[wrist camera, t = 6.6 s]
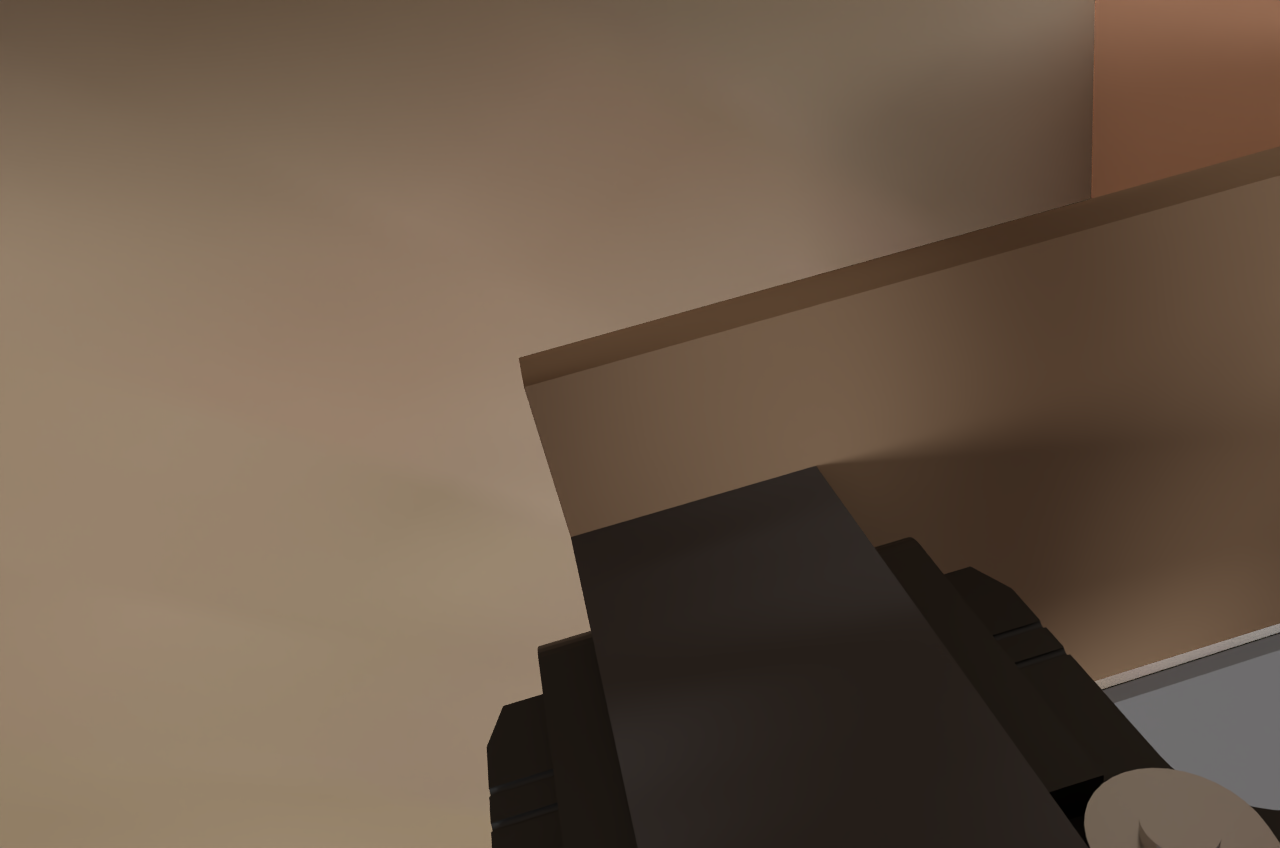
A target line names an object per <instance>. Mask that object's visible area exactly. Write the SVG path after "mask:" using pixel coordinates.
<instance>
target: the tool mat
mask: <svg viewBox="0 0 1280 848" xmlns="http://www.w3.org/2000/svg"><path fill="white" fill-rule="evenodd" d="M1102 691H1103V692H1104V693H1105V694H1106V695H1107V696H1108V697H1109V698H1110V700H1111V701H1112V702H1113V703H1114V704H1115V705H1116V706H1117V707H1118V709H1119V710H1120V711H1121V712H1122V713H1123V714H1124V715H1125V717H1126V718H1127V719H1128V720H1129V721H1130V722H1131V723H1132V724H1133V726H1134V727H1135V728H1136V729H1137V730H1138V731H1139V732H1140V733H1141V735H1142V736H1143V737H1144V738H1145V739H1146V740H1147V741H1148V742H1149V744H1150V745H1151V746H1152V747H1153V748H1154V749H1155V750H1156V751H1157V753H1158V754H1159V755H1160V756H1161V757H1162V758H1163V759H1164V760H1165V761H1166V762H1167V763H1168V764H1169V765H1170V766H1171V767H1172V768H1173V769H1175V770H1179V771H1184V772H1188V773H1191V774H1195V775H1198V776H1201V777H1204V778H1206V779H1208V780H1211V781H1213V782H1216V783H1217V784H1219V785H1221V786H1223V787H1225V788H1226V789H1228V790H1230V791H1232V792H1233V793H1234V794H1236V795H1237V796H1239V797H1240V798H1241V799H1243V800H1244V801H1245V802H1246V803H1247V804H1249V805H1250V806H1253V807H1258V808H1265V809H1271V810H1280V634H1277V635H1274V636H1270V637H1267V638H1264V639H1261V640H1258V641H1255V642H1252V643H1249V644H1245V645H1242V646H1239V647H1236V648H1233V649H1230V650H1227V651H1224V652H1220V653H1217V654H1214V655H1211V656H1208V657H1205V658H1202V659H1199V660H1195V661H1192V662H1189V663H1186V664H1183V665H1180V666H1177V667H1174V668H1170V669H1167V670H1164V671H1161V672H1158V673H1155V674H1152V675H1149V676H1145V677H1142V678H1139V679H1136V680H1133V681H1130V682H1127V683H1124V684H1121V685H1117V686H1114V687H1111V688H1108V689H1105V690H1102Z"/></svg>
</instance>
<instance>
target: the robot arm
mask: <svg viewBox="0 0 1280 848" xmlns="http://www.w3.org/2000/svg"><path fill="white" fill-rule="evenodd" d="M874 548H875V549H876V551H877V552H878V553H879V555H880V556H881V558H882V559H883V560H884V562H885V563H886V565H887V566H888V567H889V569H890V570H891V572H892V573H893V574H894V576H895V577H896V579H897V580H898V581H899V583H900V584H901V586H902V587H903V588H904V590H905V591H906V593H907V594H908V595H909V597H910V598H911V600H912V601H913V602H914V604H915V605H916V607H917V608H918V609H919V611H920V612H921V614H922V615H923V616H924V618H925V619H926V621H927V622H928V623H929V625H930V626H931V628H932V629H933V630H934V632H935V633H936V635H937V636H938V637H939V639H940V640H941V642H942V643H943V644H944V646H945V647H946V649H947V650H948V651H949V653H950V654H951V656H952V657H953V658H954V660H955V661H956V663H957V664H958V665H959V667H960V668H961V670H962V671H963V672H964V674H965V675H966V677H967V678H968V679H969V681H970V682H971V684H972V685H973V686H974V688H975V689H976V691H977V692H978V693H979V695H980V696H981V698H982V699H983V700H984V702H985V703H986V705H987V706H988V707H989V709H990V710H991V712H992V713H993V714H994V716H995V717H996V719H997V720H998V722H999V723H1000V724H1001V726H1002V727H1003V729H1004V730H1005V731H1006V733H1007V734H1008V736H1009V737H1010V738H1011V740H1012V741H1013V743H1014V744H1015V745H1016V747H1017V748H1018V750H1019V751H1020V752H1021V754H1022V755H1023V757H1024V758H1025V759H1026V761H1027V762H1028V764H1029V765H1030V766H1031V768H1032V769H1033V771H1034V772H1035V773H1036V775H1037V776H1038V778H1039V779H1040V780H1041V782H1042V783H1043V785H1044V786H1045V787H1046V789H1047V790H1048V792H1049V793H1050V794H1051V796H1052V797H1053V799H1054V800H1055V801H1056V803H1057V804H1058V806H1059V807H1060V808H1061V810H1062V811H1063V813H1064V814H1065V815H1066V817H1067V818H1068V820H1069V821H1070V822H1071V824H1072V825H1073V827H1074V828H1075V829H1076V831H1077V832H1078V834H1079V835H1080V836H1081V838H1082V839H1083V841H1084V842H1085V843H1086V845H1087V846H1088V848H1280V810H1271V809H1265V808H1258V807H1253V806H1250V805H1249V804H1247V803H1246V802H1245V801H1244V800H1243V799H1241V798H1240V797H1239V796H1237V795H1236V794H1234V793H1233V792H1232V791H1230V790H1228V789H1226V788H1225V787H1223V786H1221V785H1219V784H1217V783H1216V782H1213V781H1211V780H1208V779H1206V778H1204V777H1201V776H1198V775H1195V774H1191V773H1188V772H1184V771H1179V770H1175V769H1173V768H1172V767H1171V766H1170V765H1169V764H1168V763H1167V762H1166V761H1165V760H1164V759H1163V758H1162V757H1161V756H1160V755H1159V754H1158V753H1157V751H1156V750H1155V749H1154V748H1153V747H1152V746H1151V745H1150V744H1149V742H1148V741H1147V740H1146V739H1145V738H1144V737H1143V736H1142V735H1141V733H1140V732H1139V731H1138V730H1137V729H1136V728H1135V727H1134V726H1133V724H1132V723H1131V722H1130V721H1129V720H1128V719H1127V718H1126V717H1125V715H1124V714H1123V713H1122V712H1121V711H1120V710H1119V709H1118V707H1117V706H1116V705H1115V704H1114V703H1113V702H1112V701H1111V700H1110V698H1109V697H1108V696H1107V695H1106V694H1105V693H1104V692H1103V691H1102V689H1101V688H1100V687H1099V686H1098V685H1097V684H1096V683H1095V682H1094V680H1093V679H1092V678H1091V677H1090V676H1089V675H1088V674H1087V673H1086V671H1085V670H1084V669H1083V668H1082V667H1081V666H1080V665H1079V663H1078V662H1077V661H1076V660H1075V659H1074V658H1073V657H1072V656H1071V654H1069V655H1067V654H1066V652H1065V649H1064V647H1063V645H1062V644H1061V643H1060V642H1059V641H1058V640H1057V639H1056V638H1055V636H1054V635H1053V634H1052V633H1051V632H1050V631H1049V630H1048V629H1047V627H1044V628H1043V626H1042V625H1041V621H1040V619H1039V618H1038V617H1037V616H1036V615H1035V614H1034V613H1033V612H1032V610H1031V609H1030V608H1029V607H1028V606H1027V605H1026V604H1025V603H1024V601H1023V600H1022V599H1021V598H1020V597H1019V596H1018V595H1017V594H1016V592H1015V591H1014V590H1013V589H1012V588H1010V587H1008V586H1006V585H1004V584H1003V583H1001V582H999V581H997V580H995V579H993V578H991V577H990V576H988V575H986V574H984V573H982V572H980V571H978V570H976V569H975V568H973V567H971V566H970V567H967V568H963V569H960V570H957V571H953V572H950V573H947V574H943V573H942V571H941V570H940V569H939V568H938V566H937V565H936V564H935V563H934V561H933V560H932V559H931V558H930V556H929V555H928V554H927V552H926V551H925V550H924V549H923V547H922V546H921V545H920V544H919V543H918V542H917V541H916V540H915V539H914V538H912V537H907V538H904V539H901V540H897V541H894V542H890V543H887V544H884V545H880V546H877V547H874ZM538 659H539V667H540V674H541V682H542V689H543V694H542V695H538V696H535V697H532V698H528V699H525V700H522V701H518V702H515V703H512V704H509V705H505V706H503V708H502V711H501V713H500V716H499V718H498V720H497V723H496V725H495V728H494V730H493V733H492V735H491V738H490V740H489V743H488V745H487V761H488V780H489V790H490V794H491V796H490V797H489V799H490V818H491V825H492V830H493V832H491V837H492V848H638V846H637V842H636V837H635V832H634V828H633V823H632V819H631V814H630V809H629V805H628V800H627V795H626V791H625V786H624V781H623V777H622V772H621V768H620V763H619V758H618V754H617V749H616V744H615V740H614V735H613V730H612V726H611V721H610V716H609V712H608V707H607V703H606V698H605V693H604V689H603V684H602V679H601V675H600V670H599V665H598V661H597V656H596V652H595V647H594V642H593V638H592V633H591V631H589V632H586V633H582V634H579V635H575V636H572V637H569V638H565V639H562V640H559V641H555V642H552V643H549V644H545V645H542V646H539V647H538Z"/></svg>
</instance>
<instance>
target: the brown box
mask: <svg viewBox="0 0 1280 848" xmlns="http://www.w3.org/2000/svg"><path fill="white" fill-rule="evenodd" d="M519 362H520V367H521V373H522V378H523V384H524V388H525V392H526V395H527V398H528V401H529V404H530V408H531V411H532V414H533V417H534V420H535V424H536V427H537V430H538V433H539V436H540V440H541V443H542V446H543V449H544V453H545V456H546V459H547V462H548V465H549V469H550V472H551V475H552V478H553V481H554V485H555V488H556V491H557V494H558V497H559V501H560V504H561V507H562V510H563V513H564V517H565V520H566V523H567V526H568V530H569V533H570V536H571V540H572V545H573V549H574V554H575V559H576V563H577V568H578V573H579V577H580V582H581V587H582V591H583V596H584V600H585V605H586V610H587V614H588V619H589V624H590V628H591V633H592V638H593V642H594V647H595V652H596V656H597V661H598V665H599V670H600V675H601V679H602V684H603V689H604V693H605V698H606V703H607V707H608V712H609V716H610V721H611V726H612V730H613V735H614V740H615V744H616V749H617V754H618V758H619V763H620V768H621V772H622V777H623V781H624V786H625V791H626V795H627V800H628V805H629V809H630V814H631V819H632V823H633V828H634V832H635V837H636V842H637V846H638V848H1088V846H1087V845H1086V843H1085V842H1084V841H1083V839H1082V838H1081V836H1080V835H1079V834H1078V832H1077V831H1076V829H1075V828H1074V827H1073V825H1072V824H1071V822H1070V821H1069V820H1068V818H1067V817H1066V815H1065V814H1064V813H1063V811H1062V810H1061V808H1060V807H1059V806H1058V804H1057V803H1056V801H1055V800H1054V799H1053V797H1052V796H1051V794H1050V793H1049V792H1048V790H1047V789H1046V787H1045V786H1044V785H1043V783H1042V782H1041V780H1040V779H1039V778H1038V776H1037V775H1036V773H1035V772H1034V771H1033V769H1032V768H1031V766H1030V765H1029V764H1028V762H1027V761H1026V759H1025V758H1024V757H1023V755H1022V754H1021V752H1020V751H1019V750H1018V748H1017V747H1016V745H1015V744H1014V743H1013V741H1012V740H1011V738H1010V737H1009V736H1008V734H1007V733H1006V731H1005V730H1004V729H1003V727H1002V726H1001V724H1000V723H999V722H998V720H997V719H996V717H995V716H994V714H993V713H992V712H991V710H990V709H989V707H988V706H987V705H986V703H985V702H984V700H983V699H982V698H981V696H980V695H979V693H978V692H977V691H976V689H975V688H974V686H973V685H972V684H971V682H970V681H969V679H968V678H967V677H966V675H965V674H964V672H963V671H962V670H961V668H960V667H959V665H958V664H957V663H956V661H955V660H954V658H953V657H952V656H951V654H950V653H949V651H948V650H947V649H946V647H945V646H944V644H943V643H942V642H941V640H940V639H939V637H938V636H937V635H936V633H935V632H934V630H933V629H932V628H931V626H930V625H929V623H928V622H927V621H926V619H925V618H924V616H923V615H922V614H921V612H920V611H919V609H918V608H917V607H916V605H915V604H914V602H913V601H912V600H911V598H910V597H909V595H908V594H907V593H906V591H905V590H904V588H903V587H902V586H901V584H900V583H899V581H898V580H897V579H896V577H895V576H894V574H893V573H892V572H891V570H890V569H889V567H888V566H887V565H886V563H885V562H884V560H883V559H882V558H881V556H880V555H879V553H878V552H877V551H876V549H875V548H874V547H877V546H880V545H884V544H887V543H890V542H894V541H897V540H901V539H904V538H907V537H912V538H914V539H915V540H916V541H917V542H918V543H919V544H920V545H921V546H922V547H923V549H924V550H925V551H926V552H927V554H928V555H929V556H930V558H931V559H932V560H933V561H934V563H935V564H936V565H937V566H938V568H939V569H940V570H941V571H942V573H943V574H947V573H950V572H953V571H957V570H960V569H963V568H967V567H970V566H971V567H973V568H975V569H976V570H978V571H980V572H982V573H984V574H986V575H988V576H990V577H991V578H993V579H995V580H997V581H999V582H1001V583H1003V584H1004V585H1006V586H1008V587H1010V588H1012V589H1013V590H1014V591H1015V592H1016V594H1017V595H1018V596H1019V597H1020V598H1021V599H1022V600H1023V601H1024V603H1025V604H1026V605H1027V606H1028V607H1029V608H1030V609H1031V610H1032V612H1033V613H1034V614H1035V615H1036V616H1037V617H1038V618H1039V619H1040V621H1041V625H1042V626H1043V628H1044V627H1047V629H1048V630H1049V631H1050V632H1051V633H1052V634H1053V635H1054V636H1055V638H1056V639H1057V640H1058V641H1059V642H1060V643H1061V644H1062V645H1063V647H1064V649H1065V652H1066V654H1067V655H1069V654H1071V656H1072V657H1073V658H1074V659H1075V660H1076V661H1077V662H1078V663H1079V665H1080V666H1081V667H1082V668H1083V669H1084V670H1085V671H1086V673H1087V674H1088V675H1089V676H1090V677H1091V678H1092V679H1093V680H1094V681H1096V680H1099V679H1103V678H1106V677H1109V676H1112V675H1115V674H1119V673H1122V672H1125V671H1128V670H1131V669H1135V668H1138V667H1141V666H1144V665H1147V664H1151V663H1154V662H1157V661H1160V660H1163V659H1167V658H1170V657H1173V656H1176V655H1179V654H1183V653H1186V652H1189V651H1192V650H1195V649H1199V648H1202V647H1205V646H1208V645H1211V644H1215V643H1218V642H1221V641H1224V640H1228V639H1231V638H1234V637H1237V636H1240V635H1244V634H1247V633H1250V632H1253V631H1256V630H1260V629H1263V628H1266V627H1269V626H1272V625H1276V624H1279V623H1280V146H1279V147H1275V148H1272V149H1268V150H1265V151H1261V152H1257V153H1254V154H1250V155H1247V156H1243V157H1239V158H1236V159H1232V160H1229V161H1225V162H1222V163H1218V164H1214V165H1211V166H1207V167H1204V168H1200V169H1196V170H1193V171H1189V172H1186V173H1182V174H1178V175H1175V176H1171V177H1168V178H1164V179H1160V180H1157V181H1153V182H1150V183H1146V184H1142V185H1139V186H1135V187H1132V188H1128V189H1124V190H1121V191H1117V192H1114V193H1110V194H1106V195H1103V196H1099V197H1096V198H1092V199H1088V200H1085V201H1081V202H1078V203H1074V204H1071V205H1067V206H1063V207H1060V208H1056V209H1053V210H1049V211H1045V212H1042V213H1038V214H1035V215H1031V216H1027V217H1024V218H1020V219H1017V220H1013V221H1009V222H1006V223H1002V224H999V225H995V226H991V227H988V228H984V229H981V230H977V231H973V232H970V233H966V234H963V235H959V236H955V237H952V238H948V239H945V240H941V241H937V242H934V243H930V244H927V245H923V246H920V247H916V248H912V249H909V250H905V251H902V252H898V253H894V254H891V255H887V256H884V257H880V258H876V259H873V260H869V261H866V262H862V263H858V264H855V265H851V266H848V267H844V268H840V269H837V270H833V271H830V272H826V273H822V274H819V275H815V276H812V277H808V278H804V279H801V280H797V281H794V282H790V283H786V284H783V285H779V286H776V287H772V288H769V289H765V290H761V291H758V292H754V293H751V294H747V295H743V296H740V297H736V298H733V299H729V300H725V301H722V302H718V303H715V304H711V305H707V306H704V307H700V308H697V309H693V310H689V311H686V312H682V313H679V314H675V315H671V316H668V317H664V318H661V319H657V320H653V321H650V322H646V323H643V324H639V325H635V326H632V327H628V328H625V329H621V330H618V331H614V332H610V333H607V334H603V335H600V336H596V337H592V338H589V339H585V340H582V341H578V342H574V343H571V344H567V345H564V346H560V347H556V348H553V349H549V350H546V351H542V352H538V353H535V354H531V355H528V356H524V357H520V358H519Z"/></svg>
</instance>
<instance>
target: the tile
mask: <svg viewBox="0 0 1280 848" xmlns="http://www.w3.org/2000/svg"><path fill="white" fill-rule="evenodd" d="M1279 146H1280V0H1095V26H1094V76H1093V126H1092V176H1091V199H1092V198H1096V197H1099V196H1103V195H1106V194H1110V193H1114V192H1117V191H1121V190H1124V189H1128V188H1132V187H1135V186H1139V185H1142V184H1146V183H1150V182H1153V181H1157V180H1160V179H1164V178H1168V177H1171V176H1175V175H1178V174H1182V173H1186V172H1189V171H1193V170H1196V169H1200V168H1204V167H1207V166H1211V165H1214V164H1218V163H1222V162H1225V161H1229V160H1232V159H1236V158H1239V157H1243V156H1247V155H1250V154H1254V153H1257V152H1261V151H1265V150H1268V149H1272V148H1275V147H1279Z"/></svg>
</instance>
